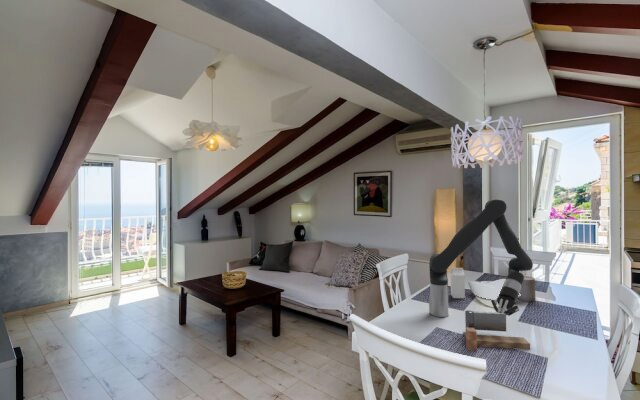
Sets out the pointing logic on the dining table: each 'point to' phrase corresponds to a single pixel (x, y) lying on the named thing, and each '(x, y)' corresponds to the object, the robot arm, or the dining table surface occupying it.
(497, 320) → the bar
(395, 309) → the dining table surface
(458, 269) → the milk carton
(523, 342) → the door edge
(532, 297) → the pillar candle
